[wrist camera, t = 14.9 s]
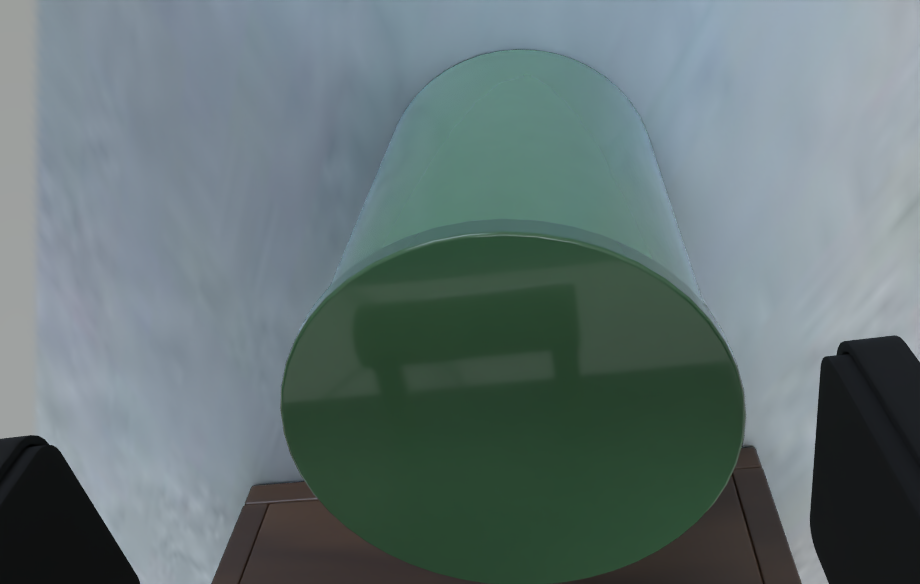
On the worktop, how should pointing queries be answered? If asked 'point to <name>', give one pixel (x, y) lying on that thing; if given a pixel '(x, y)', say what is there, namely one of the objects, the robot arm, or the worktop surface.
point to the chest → (392, 580)
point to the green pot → (515, 340)
